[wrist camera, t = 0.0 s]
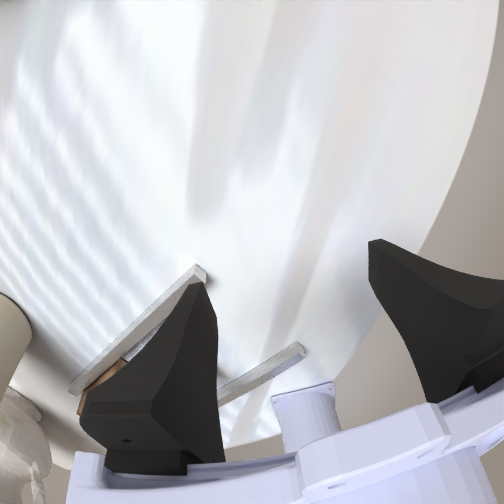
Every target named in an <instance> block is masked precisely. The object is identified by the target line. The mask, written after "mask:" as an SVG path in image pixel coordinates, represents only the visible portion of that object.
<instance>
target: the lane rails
mask: <svg viewBox="0 0 504 504" xmlns="http://www.w3.org/2000/svg"><path fill="white" fill-rule="evenodd" d="M206 274H207V273H206V272H205V271H204V270H203V269H201V268H200V267H199V266H198V265H196V264H195V265H194V266H192V267H191V268H190V269H189V270H188V271H187V272H186V273H185V274H184V275H183V276H182V277H181V278H179V279H178V280H177V281H176V282H175V283H174V284H173V285H172V286H171V287H170V288H169V289H168V290H167V291H165V292H164V293H163V294H162V295H161V296H160V297H159V298H158V299H157V300H156V301H155V302H154V303H153V304H152V305H151V306H150V307H148V308H147V309H146V310H145V311H144V312H143V313H142V314H141V315H140V316H139V317H138V318H137V319H136V320H135V321H134V322H133V323H132V324H131V325H130V326H129V327H128V328H127V329H125V330H124V331H123V332H122V333H121V334H120V335H119V336H118V337H117V338H116V339H115V340H114V341H113V342H112V343H111V344H110V345H109V346H108V347H107V348H106V349H105V350H104V351H103V352H102V353H101V354H100V355H99V356H98V357H97V358H96V359H95V360H94V361H93V362H92V363H91V364H90V365H89V366H88V367H87V368H86V369H85V370H84V371H83V372H82V373H81V374H80V375H79V376H78V377H77V378H76V379H75V380H74V381H73V382H72V383H71V385H70V388H69V391H68V392H69V393H71V394H73V395H74V396H77V395H78V394H79V393H80V392H81V391H83V390H84V389H85V388H86V387H87V386H88V385H89V384H91V383H92V382H93V381H94V380H95V379H96V378H97V377H99V376H100V375H101V374H102V373H103V372H104V371H105V370H107V369H108V368H109V367H110V366H111V365H112V364H113V363H115V362H116V361H117V360H118V359H119V358H120V357H122V356H123V355H124V354H125V353H126V352H127V351H128V350H130V349H131V348H132V347H133V346H134V345H135V344H136V343H138V342H139V341H140V340H141V339H142V338H143V337H145V336H146V335H147V334H148V333H149V332H150V331H151V330H153V329H154V328H155V327H156V326H157V325H158V324H160V323H161V322H162V321H163V320H164V319H165V318H166V317H168V316H169V315H170V313H171V312H172V310H173V309H174V307H175V305H176V304H177V302H178V301H179V299H180V298H181V296H182V294H183V293H184V291H185V290H186V288H187V287H188V285H189V284H193V283H197V282H202V281H203V284H204V285H205V284H206ZM304 358H306V357H305V353H304V350H303V347H302V346H301V345H300V344H298V343H297V342H294V343H293V344H291V345H290V346H288V347H287V348H285V349H284V350H282V351H281V352H279V353H278V354H276V355H275V356H273V357H271V358H270V359H268V360H267V361H265V362H263V363H262V364H260V365H259V366H257V367H255V368H254V369H252V370H250V371H249V372H247V373H246V374H244V375H242V376H241V377H239V378H237V379H235V380H234V381H232V382H230V383H229V384H227V385H225V386H223V387H222V388H220V389H218V390H217V400H218V407H220V406H222V405H224V404H226V403H228V402H230V401H232V400H234V399H236V398H237V397H239V396H241V395H243V394H245V393H247V392H249V391H250V390H252V389H254V388H256V387H257V386H259V385H261V384H263V383H265V382H266V381H268V380H270V379H271V378H273V377H275V376H276V375H278V374H280V373H282V372H283V371H285V370H286V369H288V368H290V367H291V366H293V365H295V364H296V363H298V362H299V361H301V360H303V359H304Z"/></svg>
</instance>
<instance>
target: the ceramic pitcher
mask: <svg viewBox="0 0 504 504" xmlns="http://www.w3.org/2000/svg"><path fill="white" fill-rule="evenodd" d="M42 416H43V414H42V413H41V412H40V411H39V410H38V409H37V408H36V407H35V406H34V404H33V403H32V402H31V401H30V400H28V399H26V398H25V397H23V396H22V395H20V394H19V393H17V392H16V391H15V390H13V389H12V388H11V387H9V386H8V387H7V389H6V391H5V394H4V396H3V398H2V401H1V403H0V504H22V500H21V491H22V489H23V487H24V485H25V484H27V483H28V482H31V481H32V483H31V486H32V492H33V497H34V504H46V501H45V490H44V486H43V483H42V480H41V479H43V478H45V477H46V476H48V474H49V473H50V469H51V463H52V457H51V451H50V447H49V444H48V441H47V438H46V436H45V433H44V431H43V430H42V429H41V427H40V426H39V425H38V424H37V422H39V421H40V420H41V419H42Z"/></svg>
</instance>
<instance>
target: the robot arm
mask: <svg viewBox="0 0 504 504" xmlns="http://www.w3.org/2000/svg"><path fill="white" fill-rule="evenodd" d="M368 253H369V282H370V284H371V286H372V289H373V291H374V293H375V295H376V297H377V299H378V300H379V302H380V303H381V305H382V306H383V308H384V310H385V311H386V312H387V314H388V316H389V317H390V319H391V320H392V322H393V323H394V325H395V327H396V328H397V330H398V331H399V333H400V335H401V336H402V338H403V340H404V342H405V344H406V346H407V349H408V351H409V353H410V355H411V358H412V360H413V363H414V365H415V368H416V370H417V373H418V376H419V378H420V381H421V384H422V387H423V390H424V393H425V397H426V400H427V402H424V403H421V404H417V405H414V406H411V407H409V408H406V409H404V410H401V411H399V412H396V413H394V414H391V415H388V416H386V417H383V418H380V419H377V420H374V421H371V422H369V423H366V424H363V425H359V426H356V427H353V428H350V429H346V430H343V431H341V427H340V424H339V421H338V417H337V414H336V411H335V385H334V383H333V382H331V383H327V384H323V385H319V386H315V387H311V388H307V389H303V390H299V391H295V392H291V393H286V394H282V395H277V396H273V397H271V398H270V399H271V403H272V406H273V409H274V411H275V414H276V417H277V419H278V422H279V425H280V427H281V432H282V438H283V444H284V450H285V454H281V455H275V456H269V457H263V458H257V459H249V460H241V461H233V462H226V460H225V455H224V449H223V442H222V435H221V428H220V420H219V411H218V400H217V384H216V379H217V357H218V327H217V317H216V314H215V312H214V309H213V307H212V304H211V302H210V299H209V297H208V294H207V291H206V289H205V286H204V284H203V281H202V282H197V283H193V284H189V285H188V287H187V288H186V290H185V291H184V293H183V294H182V296H181V298H180V299H179V301H178V302H177V304H176V305H175V307H174V309H173V310H172V312H171V313H170V315H169V316H168V317H167V319H166V320H165V322H164V323H163V324H162V326H161V327H160V329H159V330H158V331H157V332H156V334H155V335H154V336H153V337H152V339H151V340H150V341H149V342H148V343H147V344H146V345H145V347H144V348H143V349H142V350H141V351H140V352H139V353H138V354H137V355H136V356H134V357H133V358H132V359H131V360H130V361H129V362H128V363H127V364H126V365H125V366H124V367H122V368H121V369H120V370H119V371H118V372H116V373H115V374H114V375H112V376H111V377H110V378H108V379H107V380H106V381H104V382H103V383H101V384H100V385H98V386H96V387H95V388H93V389H92V390H90V391H89V392H87V395H86V398H85V402H84V405H83V408H82V412H81V415H80V419H79V422H80V425H81V427H82V428H83V430H84V431H85V432H86V433H87V434H88V435H89V436H91V437H92V438H93V439H95V440H96V441H97V442H98V443H100V444H101V445H102V446H104V447H105V448H106V449H107V454H106V456H105V455H102V454H98V453H91V452H83V451H76V452H75V457H74V461H73V466H72V471H71V476H70V481H69V487H68V493H67V499H66V504H498V503H497V500H496V498H495V495H494V493H493V490H492V487H491V485H490V483H489V480H488V478H487V475H486V473H485V471H484V468H483V466H482V464H481V461H480V459H479V457H480V456H481V455H483V454H484V453H486V452H487V451H489V450H490V449H491V448H493V447H494V446H496V445H497V444H498V443H500V442H501V441H502V440H503V439H504V280H497V279H490V278H484V277H479V276H474V275H470V274H466V273H462V272H459V271H455V270H452V269H449V268H446V267H443V266H440V265H438V264H436V263H433V262H431V261H428V260H426V259H424V258H422V257H419V256H417V255H415V254H413V253H411V252H409V251H407V250H405V249H403V248H401V247H399V246H396V245H394V244H392V243H390V242H388V241H386V240H383V239H377V240H373V241H369V242H368Z"/></svg>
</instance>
